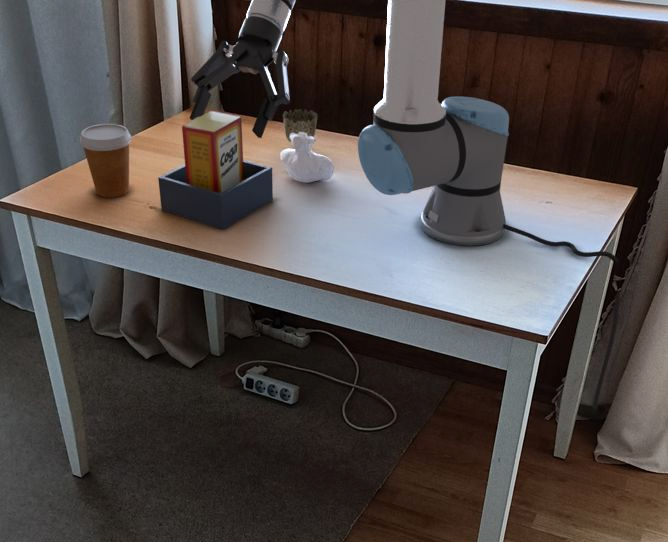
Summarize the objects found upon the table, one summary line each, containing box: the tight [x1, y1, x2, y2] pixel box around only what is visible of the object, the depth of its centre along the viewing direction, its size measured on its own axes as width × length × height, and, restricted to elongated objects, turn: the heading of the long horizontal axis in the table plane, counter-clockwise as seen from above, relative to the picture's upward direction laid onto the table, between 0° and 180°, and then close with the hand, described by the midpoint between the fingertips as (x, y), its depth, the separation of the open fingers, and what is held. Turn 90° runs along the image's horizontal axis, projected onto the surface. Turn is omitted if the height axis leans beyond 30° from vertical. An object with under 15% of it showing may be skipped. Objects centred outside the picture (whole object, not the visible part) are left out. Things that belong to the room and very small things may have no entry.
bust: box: [279, 132, 335, 184], centre depth 170 cm, size 12×8×11 cm
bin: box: [157, 159, 274, 230], centre depth 161 cm, size 15×16×7 cm
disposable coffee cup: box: [79, 123, 132, 198], centre depth 164 cm, size 10×10×12 cm
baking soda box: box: [181, 110, 244, 193], centre depth 158 cm, size 10×6×16 cm
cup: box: [282, 108, 318, 149], centre depth 184 cm, size 8×7×8 cm
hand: (224, 128), depth 157 cm, fingers open, 13 cm apart
